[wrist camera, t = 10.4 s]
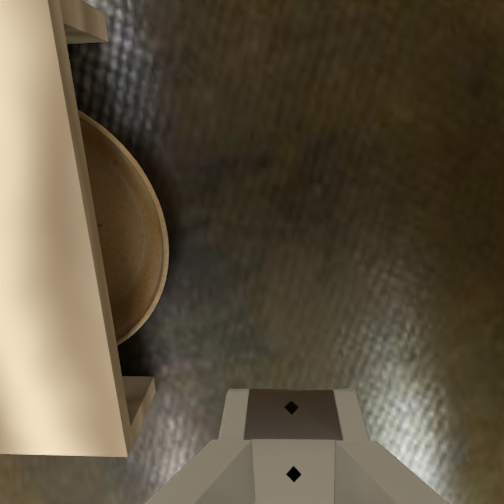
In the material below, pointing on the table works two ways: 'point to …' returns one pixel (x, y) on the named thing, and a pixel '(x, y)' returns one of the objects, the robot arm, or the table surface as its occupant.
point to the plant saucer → (125, 229)
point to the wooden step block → (54, 252)
